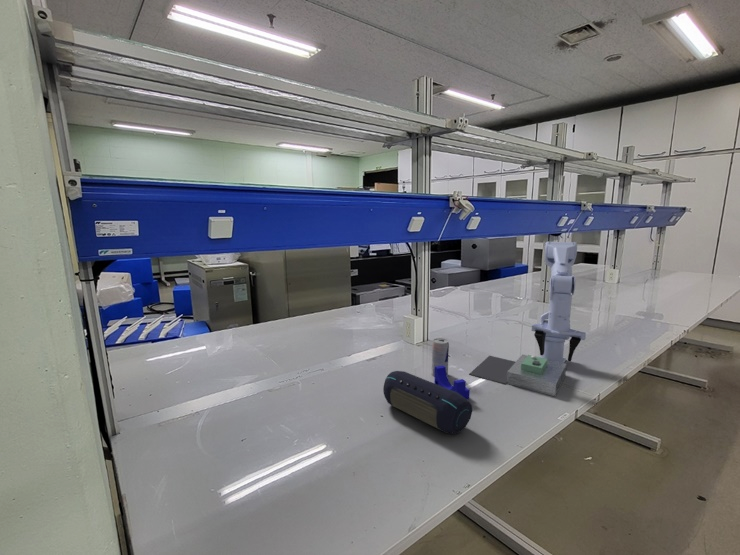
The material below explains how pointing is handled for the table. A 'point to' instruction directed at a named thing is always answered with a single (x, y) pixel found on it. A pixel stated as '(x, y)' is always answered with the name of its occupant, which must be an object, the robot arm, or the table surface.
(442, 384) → the cable clip
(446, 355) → the energy drink
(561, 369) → the deck
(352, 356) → the table surface
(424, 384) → the portable speaker
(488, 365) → the mat
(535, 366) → the thick sage green slab
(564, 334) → the robot arm
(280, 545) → the table surface
